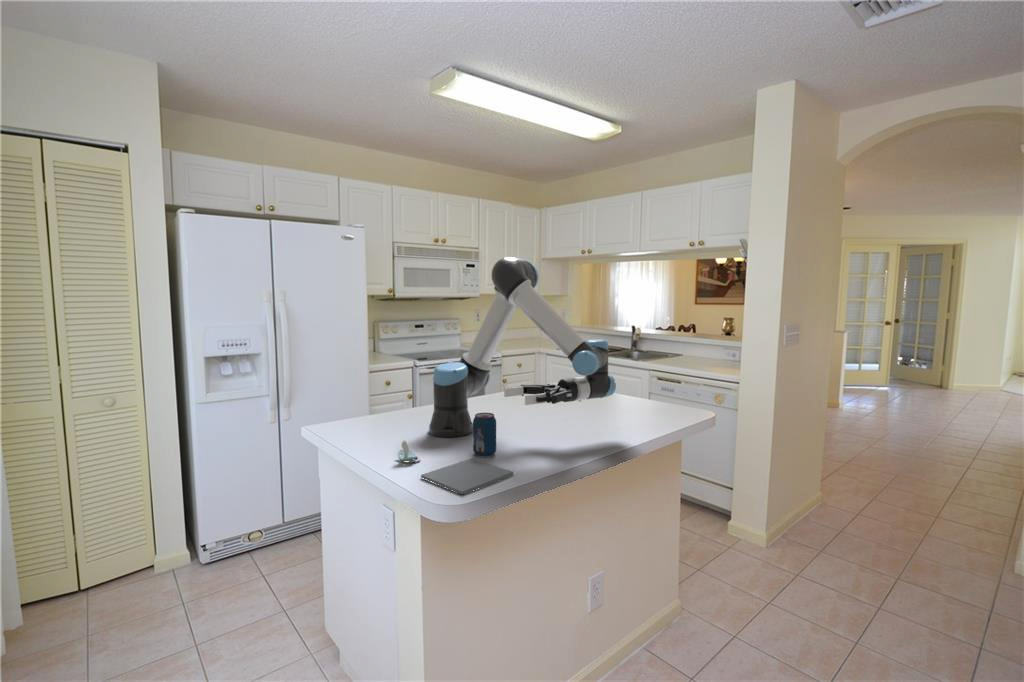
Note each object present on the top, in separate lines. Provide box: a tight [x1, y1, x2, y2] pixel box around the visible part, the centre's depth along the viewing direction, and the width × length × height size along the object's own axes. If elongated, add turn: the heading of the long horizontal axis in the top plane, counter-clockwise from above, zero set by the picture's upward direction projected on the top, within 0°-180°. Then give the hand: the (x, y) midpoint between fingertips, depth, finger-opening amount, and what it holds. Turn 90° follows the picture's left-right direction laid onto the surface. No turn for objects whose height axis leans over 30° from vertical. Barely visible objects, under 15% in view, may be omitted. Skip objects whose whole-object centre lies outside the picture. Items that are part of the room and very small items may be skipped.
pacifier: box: [397, 439, 421, 463], centre depth 141 cm, size 7×6×6 cm
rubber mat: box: [420, 457, 514, 496], centre depth 129 cm, size 16×18×1 cm
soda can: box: [472, 412, 497, 458], centre depth 147 cm, size 7×7×12 cm
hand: (514, 396), depth 150 cm, fingers open, 13 cm apart
